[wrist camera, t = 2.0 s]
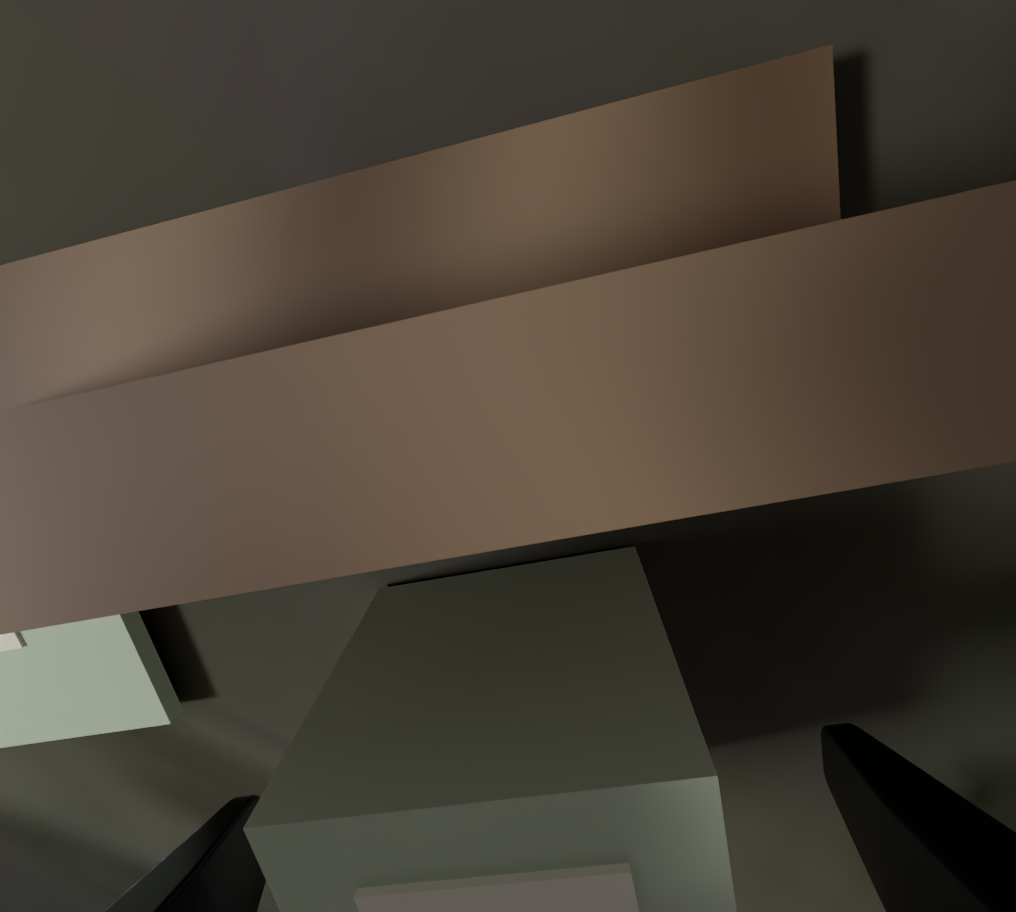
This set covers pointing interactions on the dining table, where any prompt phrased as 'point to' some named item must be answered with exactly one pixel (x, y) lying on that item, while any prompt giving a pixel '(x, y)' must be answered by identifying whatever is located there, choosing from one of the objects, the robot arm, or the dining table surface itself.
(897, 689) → the dining table surface
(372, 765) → the sage block
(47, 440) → the walnut screen
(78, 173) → the dining table surface
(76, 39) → the dining table surface
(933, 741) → the dining table surface
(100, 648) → the sage pad
